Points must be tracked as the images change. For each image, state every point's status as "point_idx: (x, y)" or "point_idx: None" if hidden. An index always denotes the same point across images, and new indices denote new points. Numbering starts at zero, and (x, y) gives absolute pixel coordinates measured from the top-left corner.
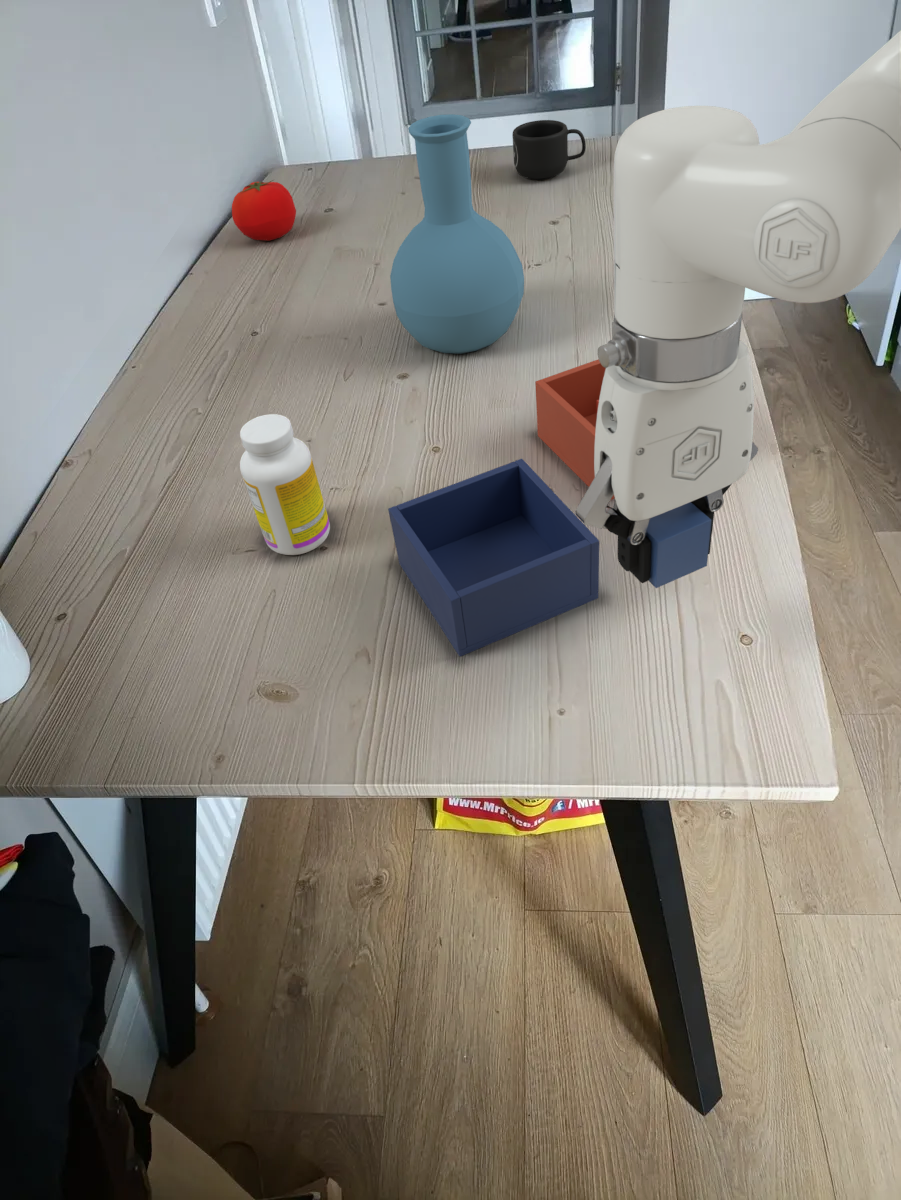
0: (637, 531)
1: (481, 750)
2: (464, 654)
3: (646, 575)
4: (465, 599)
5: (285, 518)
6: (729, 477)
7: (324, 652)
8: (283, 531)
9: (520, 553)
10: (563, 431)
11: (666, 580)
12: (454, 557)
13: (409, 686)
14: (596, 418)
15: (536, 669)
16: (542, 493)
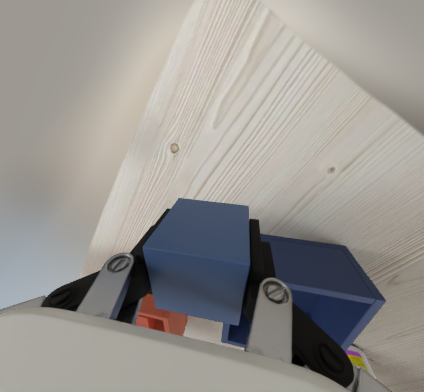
0: (281, 309)
1: (414, 174)
2: (342, 246)
3: (255, 225)
4: (367, 293)
5: None
6: (14, 347)
7: (411, 296)
8: (371, 373)
9: None
10: (178, 326)
11: (233, 207)
12: None
13: (395, 247)
14: (156, 319)
15: (312, 210)
16: None
